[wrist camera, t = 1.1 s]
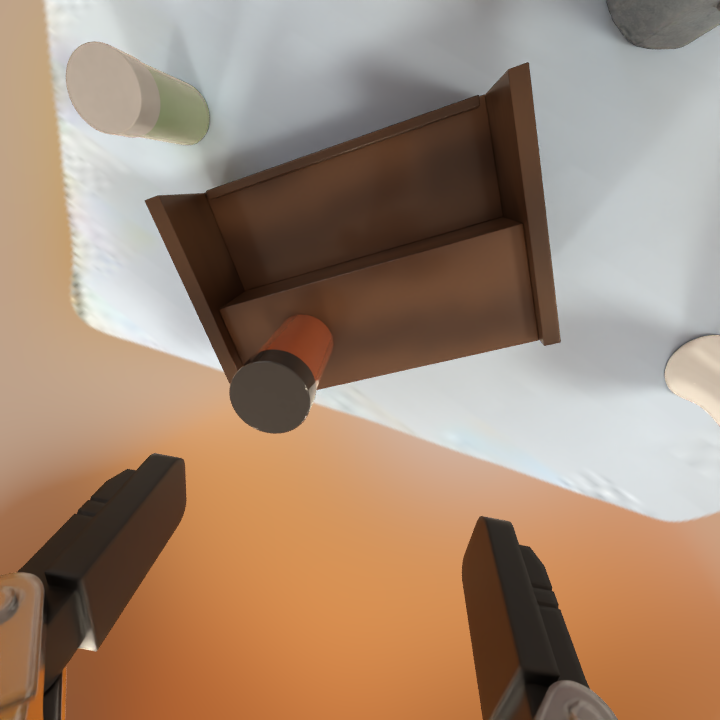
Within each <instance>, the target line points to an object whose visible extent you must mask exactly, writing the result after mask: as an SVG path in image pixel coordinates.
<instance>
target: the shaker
mask: <svg viewBox="0 0 720 720" xmlns="http://www.w3.org/2000/svg"><path fill="white" fill-rule="evenodd" d="M66 84H67V89H68V93H69V96H70V99H71V101H72V104H73V105H74V107H75V109H76V111H77V112H78V113H79V115H80V116H81V117H82V118H83V119H84V120H85V121H86V122H87V123H88V124H89V125H90V126H91V127H93V128H95V129H96V130H98V131H100V132H103V133H106V134H112V135H118V136H124V137H130V138H136V137H140V138H146V139H152V140H158V141H163V142H169V143H175V144H181V145H193V144H196V143H198V142H199V141H201V140H202V139H203V137H204V136H205V135H206V133H207V130H208V127H209V120H210V117H209V110H208V107H207V104H206V101H205V100H204V98H203V96H202V95H201V93H200V92H199V91H198V90H197V89H196V88H195V87H193V86H192V85H190V84H188V83H186V82H184V81H181V80H179V79H177V78H175V77H173V76H170V75H168V74H166V73H164V72H162V71H160V70H157V69H155V68H153V67H151V66H149V65H147V64H144V63H142V62H140V61H139V60H138V59H137V58H135V57H133V56H131V55H129V54H127V53H125V52H123V51H121V50H119V49H117V48H114V47H112V46H110V45H108V44H105V43H102V42H88V43H85V44H83V45H81V46H79V47H78V48H77V49H76V50H75V51H74V52H73V53H72V55H71V57H70V59H69V61H68V64H67V69H66Z"/></svg>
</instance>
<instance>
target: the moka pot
mask: <svg viewBox="0 0 720 720" xmlns="http://www.w3.org/2000/svg"><path fill="white" fill-rule="evenodd" d="M607 4H608V8H609V12H610V14H611V16H612V19H613V21H614V23H615V24H616V26H617V27H618V28H619V29H620V31H621V33H622V34H623V35H624V36H625V37H626V39H627V40H628V41H630V42H631V43H632V44H634V45H636V46H639V47H644V48H650V49H676V48H680V47H683V46H685V45H687V44H689V43H690V42H692V41H694V40H695V39H697V38H699V37H700V36H702V35H703V34H705V33H707V32H708V31H710V30H712V29H713V28H715V27H717V26H718V25H720V0H607Z"/></svg>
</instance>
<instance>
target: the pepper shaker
mask: <svg viewBox="0 0 720 720" xmlns="http://www.w3.org/2000/svg"><path fill="white" fill-rule="evenodd" d="M332 351H333V338H332V335H331V332H330V331H329V329H328V328H327V326H326V325H325V324H324V323H323V322H322V321H320V320H319V319H317V318H315V317H313V316H309V315H295V316H292V317H289V318H287V319H286V320H285V321H284V322H283V323H282V324H281V325H280V326H279V327H278V328H277V329H276V331H275V332H274V333H273V334H272V335H271V336H270V337H269V339H268V340H267V341H266V342H265V343H264V344H263V346H262V347H261V348H260V349H259V350H258V351H257V352H256V354H254V355H253V356H251V357H250V358H249V359H248V360H247V361H246V362H245V363H244V364H243V366H242V367H241V368H240V369H239V370H238V371H237V372H236V374H235V375H234V377H233V379H232V381H231V384H230V400H231V403H232V406H233V408H234V410H235V411H236V413H237V414H238V416H239V417H240V418H241V419H242V420H243V421H244V422H245V423H247V424H248V425H249V426H251V427H253V428H255V429H257V430H259V431H262V432H267V433H285V432H289V431H291V430H293V429H295V428H297V427H298V426H299V425H300V424H302V423H303V422H304V420H305V419H306V417H307V415H308V413H309V411H310V408H311V406H312V404H313V401H314V399H315V395H316V389H317V387H318V385H319V382H320V380H321V377H322V375H323V373H324V370H325V368H326V366H327V363H328V361H329V358H330V356H331V354H332Z"/></svg>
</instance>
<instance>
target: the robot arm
mask: <svg viewBox="0 0 720 720" xmlns="http://www.w3.org/2000/svg"><path fill="white" fill-rule="evenodd" d="M185 507H186V480H185V463H184V460H183V459H182V458H178V457H172V456H167V455H162V454H156V453H154V454H152V455H150V456H149V457H148V458H147V459H146V460H145V461H144V462H143V463H142V465H141V466H140V467H139V468H138V469H137V470H130V469H127V470H125V471H123V472H121V473H120V474H118V475H116V476H115V477H113V478H111V479H109V480H108V481H106V482H105V483H104V484H103V485H102V486H101V487H100V488H99V489H98V490H97V491H96V492H95V494H94V495H92V497H91V499H90V500H88V501H87V502H86V503H85V504H84V505H83V506H82V507H81V508H80V509H79V510H78V513H77V514H74V515H73V516H72V517H71V518H70V519H69V520H68V521H67V522H66V523H65V524H64V525H63V526H62V527H61V528H60V529H59V530H58V531H57V532H56V533H55V534H54V535H53V536H52V537H51V538H50V539H49V540H48V542H47V543H46V544H45V545H44V546H43V547H42V548H41V549H40V550H39V551H38V552H37V553H36V554H35V555H34V556H33V557H32V558H31V559H30V560H29V561H28V562H27V563H26V564H25V565H24V566H23V567H22V568H21V569H20V570H19V571H18V572H16V573H9V574H5V575H1V576H0V720H65V715H66V713H65V712H66V711H65V710H66V665H67V663H68V662H69V661H70V659H71V658H72V656H73V654H74V653H75V652H76V650H77V649H78V648H82V649H87V650H92V651H97V650H98V649H99V647H100V645H101V644H102V642H103V641H104V639H105V638H106V636H107V635H108V633H109V632H110V630H111V628H112V627H113V625H114V624H115V622H116V621H117V619H118V618H119V616H120V615H121V613H122V612H123V610H124V608H125V607H126V605H127V604H128V602H129V601H130V599H131V598H132V596H133V595H134V593H135V591H136V590H137V588H138V587H139V585H140V584H141V582H142V581H143V579H144V578H145V576H146V574H147V573H148V571H149V570H150V568H151V566H152V565H153V564H154V562H155V560H156V559H157V557H158V556H159V554H160V553H161V551H162V550H163V548H164V547H165V545H166V543H167V542H168V540H169V539H170V537H171V536H172V534H173V533H174V531H175V530H176V528H177V526H178V525H179V523H180V521H181V519H182V517H183V514H184V511H185ZM462 581H463V588H464V594H465V601H466V608H467V615H468V622H469V629H470V636H471V642H472V649H473V656H474V663H475V669H476V676H477V683H478V689H479V695H480V703H481V710H482V716H483V720H618V719H617V718H616V716H615V714H614V713H613V712H612V710H611V709H610V708H609V707H608V705H607V704H606V703H605V702H604V701H603V700H602V699H601V698H600V697H599V696H598V695H597V694H595V693H594V692H593V691H592V690H590V688H589V686H588V684H587V681H586V679H585V676H584V674H583V671H582V668H581V665H580V662H579V660H578V657H577V654H576V652H575V649H574V646H573V643H572V641H571V638H570V635H569V632H568V630H567V627H566V624H565V622H564V619H563V616H562V613H561V610H560V609H558V602H557V599H556V597H555V594H554V592H553V591H552V586H551V583H550V580H549V578H548V575H547V572H546V569H545V567H544V565H543V564H542V562H541V561H540V560H539V558H538V557H537V556H536V555H535V553H534V552H533V550H532V549H531V548H530V547H528V546H522V545H519V543H518V540H517V537H516V534H515V531H514V528H513V525H512V523H511V522H509V521H505V520H499V519H494V518H488V517H483V516H481V517H479V519H478V521H477V523H476V526H475V528H474V531H473V533H472V536H471V539H470V541H469V544H468V547H467V550H466V552H465V555H464V558H463V565H462Z"/></svg>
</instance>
